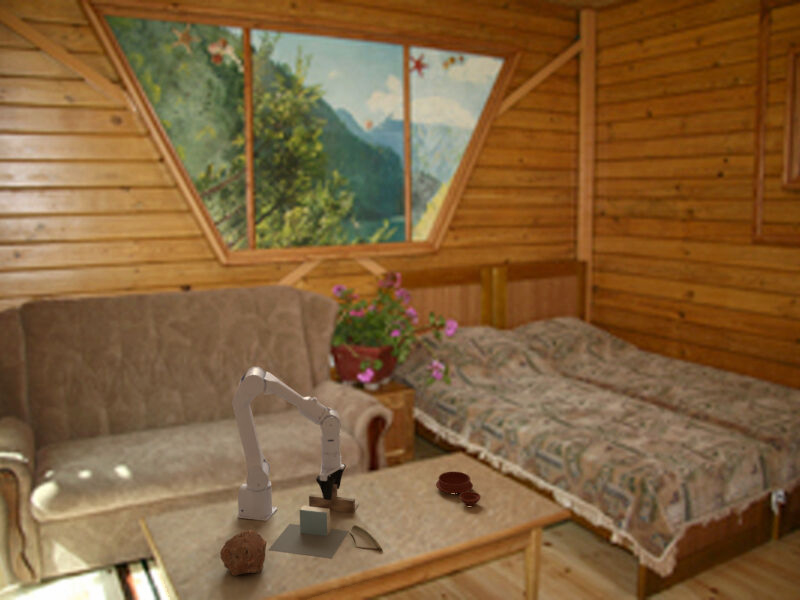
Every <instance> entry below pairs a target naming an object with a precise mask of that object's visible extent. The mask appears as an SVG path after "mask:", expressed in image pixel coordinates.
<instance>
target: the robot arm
mask: <svg viewBox="0 0 800 600" xmlns="http://www.w3.org/2000/svg"><path fill="white" fill-rule="evenodd" d="M262 393H263V396H267V395H273V394H274V395H276V396H277V397H279V398H281V399H283V400H285V401H286V402H288V403H290V404H292V405H293V406H295V407H296V408H297V412H298V414H299V415H301V416H303V417H304V418H305V419H308V420H309V421H311V422H312V423H314V424H316V425H318V426H319V427H320V430H321V436H320V450H321V451H320V452H321V454H320V456H321V464H320V472H319V475H317V476H316V478H315V480H316V483H317V484H318V486H319V487H320V491H321V494H322V495H323V498H324V499H325V500H331V498H332V490H333V485H334V484H337V490H340V486H341V482H342V477H343V473H344V471H345V470H346V464H345V463H342V462H343V456H342V455H341V435H340V433H341V430H340V429H341V427H342V424H341V419H340V418H341V416H340V415H339V412H337V410H336V409H335V408H331V407H329V406H325V405H324V404H322V403H321V402H319V400H318V398H317V397H316V396H313V397H311V396H302V395H301V394H300V393H298V392H296V390H294V389H292V388H291V387H290V386H288V385H287V384H286V383H284V382H282V381H281V380H280V379H279V378H278V377H276V376H275V375H273V374H272V373H271V372H268V371H265V370H264V369H263V368H262V367H259V366H252V367H250V368H249V369H246V371H245V372H244V374H243V375H242V376H241V377H240V380H239V383H238V386H237V388H236V391H235V392H234V395H233V397H232V400H231V405H232V409H233V413H234V417H235V421H236V424H237V428H238V432H239V436H240V440H241V441H240V442H241V444H242V449H243V452H244V456H245V464H246V472H247V475H246V483H242V484H241V485H240V487H239V489H238V492H237V493H238V494H237V508H238V515H237V518H238V519H239V518H240V519H248V520H255V521H262V522H263V521H264V522H268V520H269V519H270V518H271V517H272V516H273V515H274V513H275V512H277V510H278V507H276V506H273V496H272V495H273V494H272V491H273V490H272V481H271V480H270V479H269V476H270V472H271V466H270V463H269V462H268V461H267V460H266V458H265V454H264V453H263V451H262V448H261V447H262V446H261V443H260V440H259V435H258V432H257V427H256V422H255V419H254V416H253V415H254V414H253V412H252V408H251V403H252V402H253V400H254V399H255V398H257V397H259V396H260V395H261V394H262Z"/></svg>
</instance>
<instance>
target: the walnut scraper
mask: <svg viewBox="0 0 800 600" xmlns="http://www.w3.org/2000/svg"><path fill="white" fill-rule="evenodd" d="M359 505H360V504H359V503H356V499H355V498H351V497H340V496H338V489H337V484H334V485H333V490H332V498H331V500H325V499H324V498H323V494H322V495H321V494H314V493H310V494H309V495H308V506H310V507H318V508H327V509H330V512H331V511H332V512H343V513H351V514H354V513H355V511H356V510H357V509H358V507H359Z"/></svg>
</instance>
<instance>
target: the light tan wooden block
mask: <svg viewBox="0 0 800 600" xmlns="http://www.w3.org/2000/svg"><path fill="white" fill-rule="evenodd" d="M299 525H300V533H305V534H313V535H322V536H328V534H329V533H330V529H331V510H330V509H327V508H318V507H310V506H309V505H308V506H307V505H302V506H301V507H300V509H299Z"/></svg>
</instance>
